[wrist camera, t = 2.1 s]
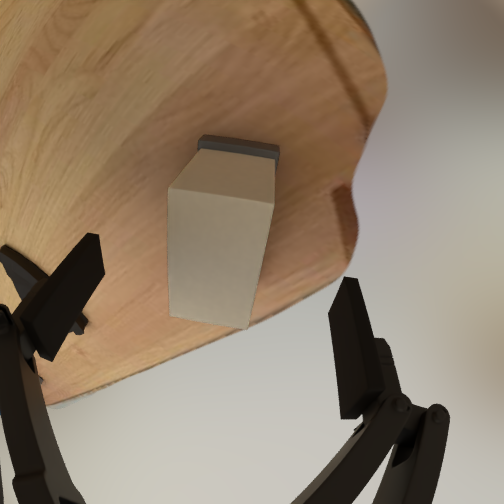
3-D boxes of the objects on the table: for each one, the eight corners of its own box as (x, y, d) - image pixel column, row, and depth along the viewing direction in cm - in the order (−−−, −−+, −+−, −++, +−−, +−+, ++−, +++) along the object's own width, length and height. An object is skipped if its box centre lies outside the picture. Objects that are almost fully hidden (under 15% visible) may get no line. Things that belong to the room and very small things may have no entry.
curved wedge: (22, 230, 24) (13, 239, 23) (92, 323, 31) (86, 333, 30) (-6, 252, 26) (-14, 260, 25) (55, 331, 33) (50, 339, 32)
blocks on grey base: (203, 134, 19) (163, 176, 12) (279, 145, 19) (281, 194, 12) (193, 275, 25) (168, 350, 19) (251, 285, 26) (243, 363, 19)
